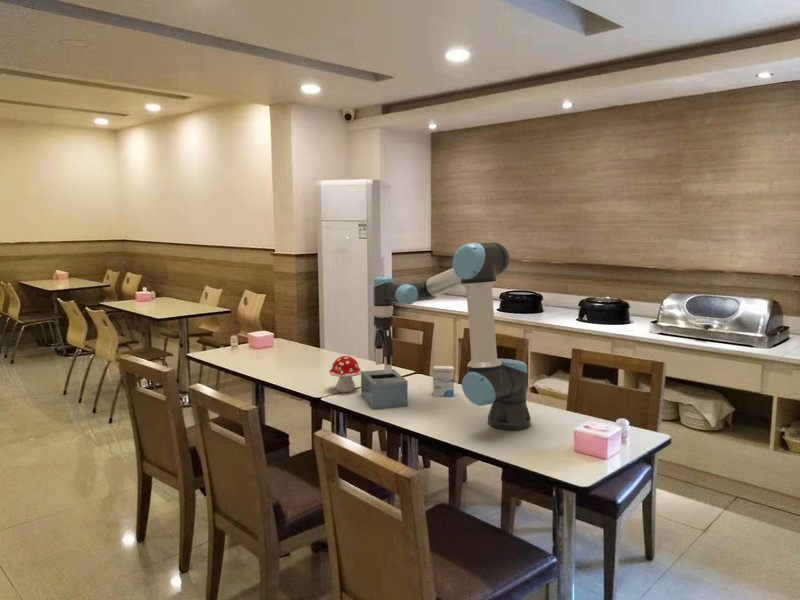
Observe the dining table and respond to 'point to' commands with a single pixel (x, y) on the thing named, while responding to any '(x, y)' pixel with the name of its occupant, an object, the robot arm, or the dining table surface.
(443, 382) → the ink box
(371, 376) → the coin box
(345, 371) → the decorative mushroom
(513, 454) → the dining table surface
